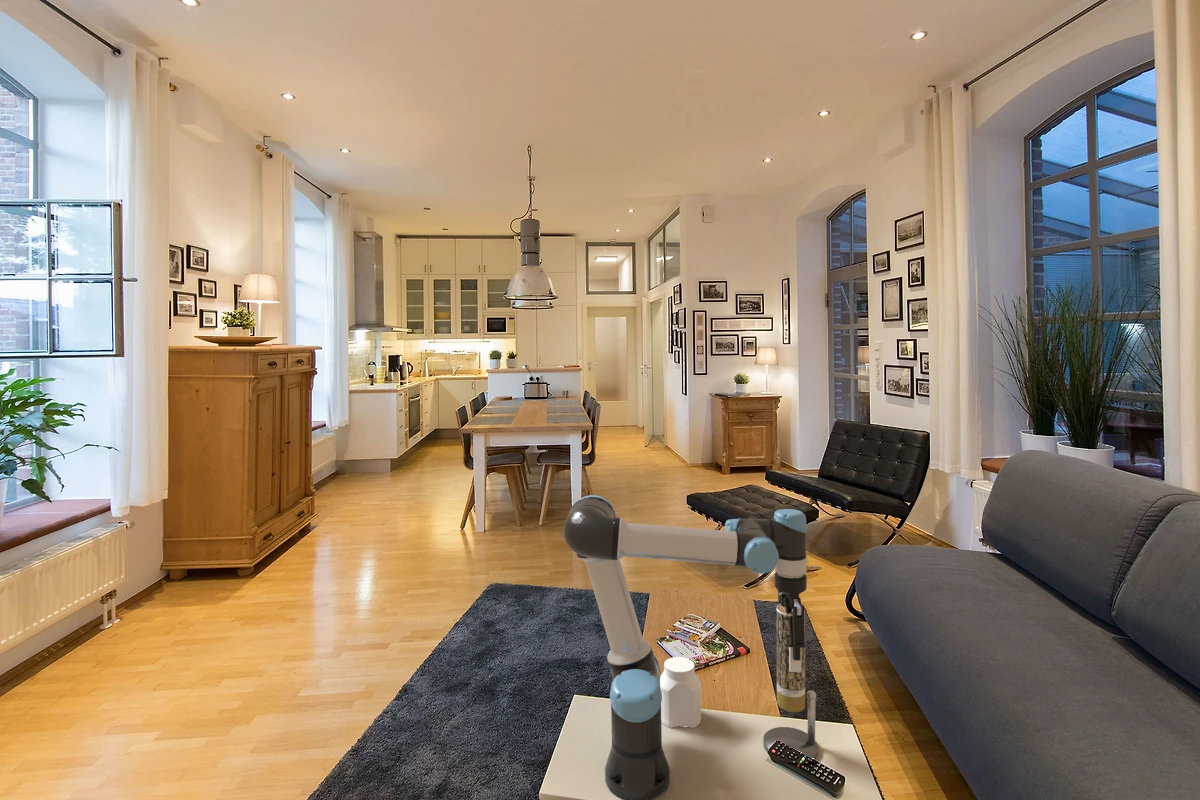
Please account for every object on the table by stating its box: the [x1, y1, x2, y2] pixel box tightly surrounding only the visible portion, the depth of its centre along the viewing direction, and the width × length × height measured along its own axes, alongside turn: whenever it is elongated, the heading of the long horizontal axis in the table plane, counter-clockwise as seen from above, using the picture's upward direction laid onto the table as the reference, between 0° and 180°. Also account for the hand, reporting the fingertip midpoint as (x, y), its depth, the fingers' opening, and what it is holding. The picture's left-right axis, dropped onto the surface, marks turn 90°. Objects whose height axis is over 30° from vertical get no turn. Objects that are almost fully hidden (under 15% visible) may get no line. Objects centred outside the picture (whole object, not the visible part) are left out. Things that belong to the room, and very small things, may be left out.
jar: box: [660, 656, 702, 729], centre depth 166 cm, size 12×10×15 cm
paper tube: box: [775, 604, 806, 713], centre depth 151 cm, size 7×7×25 cm
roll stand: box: [762, 689, 819, 760], centre depth 152 cm, size 13×13×14 cm
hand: (790, 663), depth 151 cm, fingers closed on paper tube, 7 cm apart
